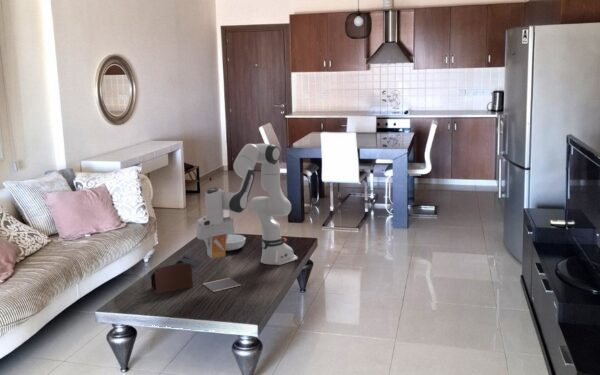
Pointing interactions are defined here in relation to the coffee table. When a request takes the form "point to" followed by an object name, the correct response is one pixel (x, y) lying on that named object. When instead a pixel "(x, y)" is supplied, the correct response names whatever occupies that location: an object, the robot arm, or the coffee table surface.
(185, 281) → the letter holder
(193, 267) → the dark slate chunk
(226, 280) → the mat
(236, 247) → the serving bowl
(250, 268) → the coffee table surface
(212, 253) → the small box
